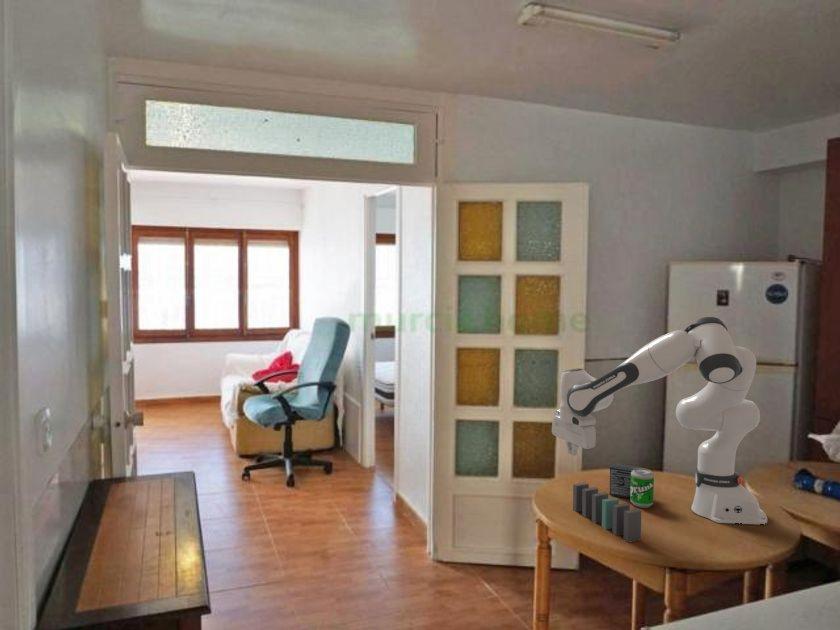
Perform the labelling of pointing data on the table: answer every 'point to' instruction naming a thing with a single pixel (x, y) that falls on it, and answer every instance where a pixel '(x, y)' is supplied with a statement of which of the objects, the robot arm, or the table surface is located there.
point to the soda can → (642, 487)
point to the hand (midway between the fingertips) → (572, 454)
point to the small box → (621, 480)
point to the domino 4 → (608, 512)
